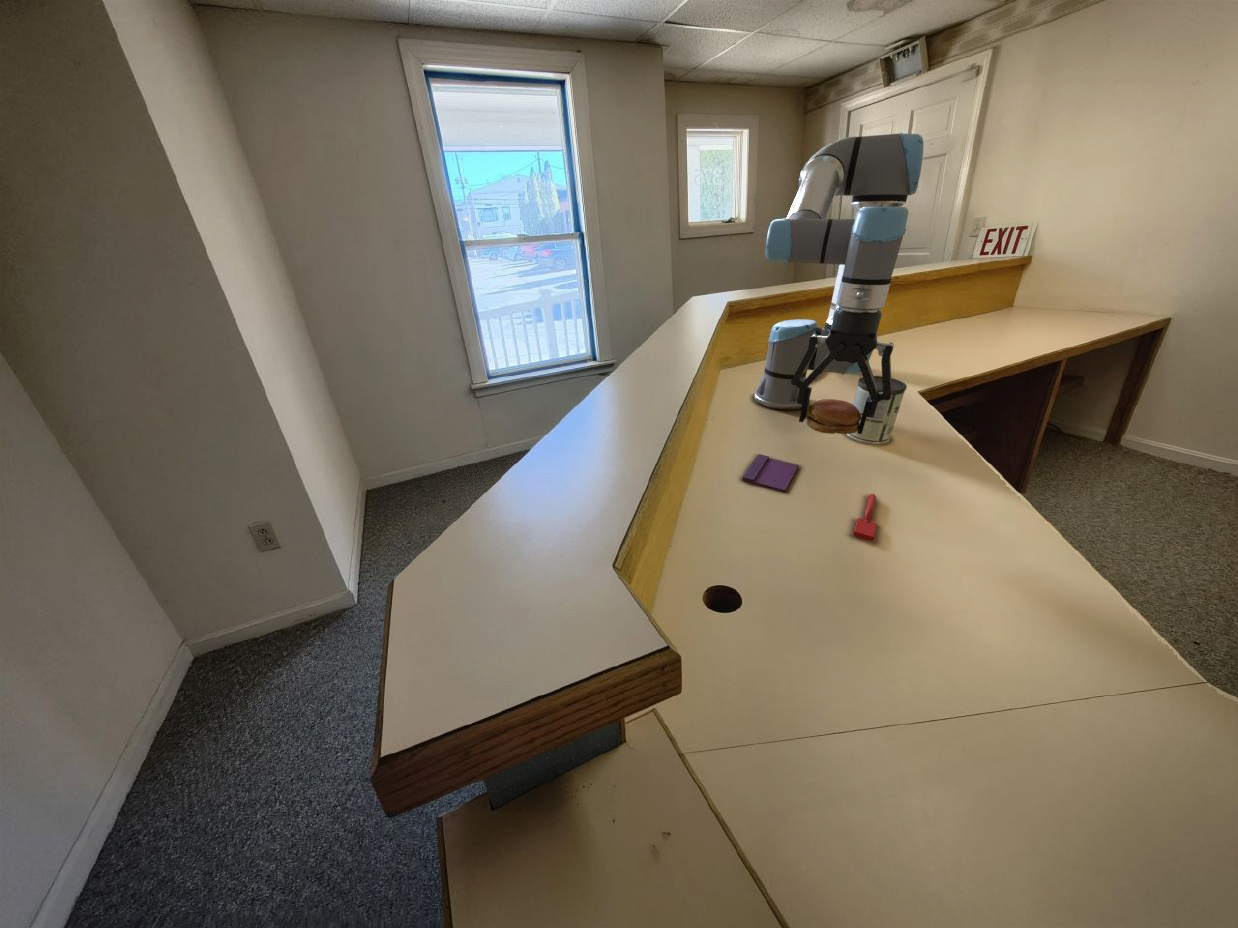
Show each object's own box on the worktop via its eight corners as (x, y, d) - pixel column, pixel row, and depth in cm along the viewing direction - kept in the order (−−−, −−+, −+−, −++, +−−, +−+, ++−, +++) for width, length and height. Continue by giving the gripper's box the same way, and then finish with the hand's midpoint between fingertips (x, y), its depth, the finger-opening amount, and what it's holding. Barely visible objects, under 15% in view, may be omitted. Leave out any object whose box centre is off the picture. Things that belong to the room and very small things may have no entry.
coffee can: (845, 424, 121) (858, 373, 114) (888, 431, 117) (905, 378, 110) (844, 440, 113) (858, 386, 106) (890, 447, 109) (908, 392, 102)
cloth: (758, 456, 106) (758, 453, 106) (798, 466, 102) (798, 463, 102) (742, 480, 97) (742, 477, 97) (784, 491, 93) (785, 488, 93)
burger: (868, 432, 87) (875, 409, 85) (829, 439, 84) (834, 416, 82) (831, 413, 95) (836, 392, 93) (794, 420, 92) (798, 398, 90)
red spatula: (863, 495, 92) (864, 490, 91) (880, 499, 90) (882, 494, 90) (853, 535, 80) (854, 530, 80) (873, 541, 79) (874, 536, 78)
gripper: (786, 306, 81) (767, 420, 92) (935, 319, 71) (893, 446, 81) (796, 299, 86) (777, 407, 97) (935, 311, 76) (896, 430, 87)
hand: (830, 425), depth 89 cm, fingers closed on burger, 10 cm apart
